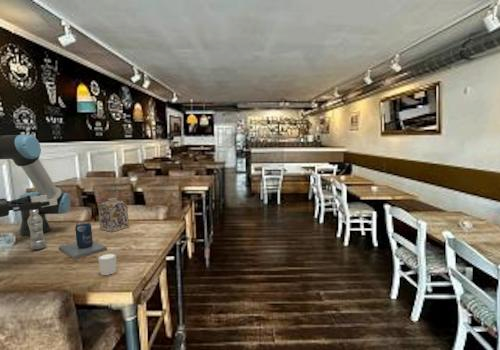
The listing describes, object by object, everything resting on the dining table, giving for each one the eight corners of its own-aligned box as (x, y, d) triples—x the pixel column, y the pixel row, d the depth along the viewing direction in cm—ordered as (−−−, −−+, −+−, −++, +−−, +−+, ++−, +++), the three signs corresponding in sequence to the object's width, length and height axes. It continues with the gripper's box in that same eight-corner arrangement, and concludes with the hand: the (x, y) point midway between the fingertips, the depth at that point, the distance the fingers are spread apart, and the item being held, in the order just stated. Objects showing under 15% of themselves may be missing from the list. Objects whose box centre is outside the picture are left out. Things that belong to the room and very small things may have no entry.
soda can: (86, 249, 166) (84, 225, 164) (74, 248, 167) (71, 224, 166) (96, 244, 173) (93, 221, 171) (83, 244, 174) (81, 220, 172)
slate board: (59, 249, 172) (58, 246, 172) (90, 241, 183) (89, 238, 182) (74, 259, 158) (74, 256, 158) (107, 250, 169) (106, 247, 169)
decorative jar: (129, 227, 207) (127, 197, 204) (112, 232, 197) (109, 201, 195) (116, 224, 213) (114, 195, 211) (99, 229, 204) (96, 199, 201)
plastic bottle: (49, 247, 175) (44, 208, 173) (37, 252, 169) (32, 211, 166) (39, 246, 178) (35, 207, 175) (27, 250, 171) (22, 211, 168)
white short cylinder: (102, 269, 145) (101, 253, 144) (119, 268, 146) (118, 252, 145) (97, 277, 138) (95, 260, 137) (114, 275, 139) (113, 259, 138)
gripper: (-10, 212, 154) (43, 203, 169) (4, 222, 137) (62, 211, 152) (-12, 196, 153) (42, 188, 168) (1, 204, 136) (60, 194, 151)
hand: (51, 199), depth 160 cm, fingers open, 13 cm apart
